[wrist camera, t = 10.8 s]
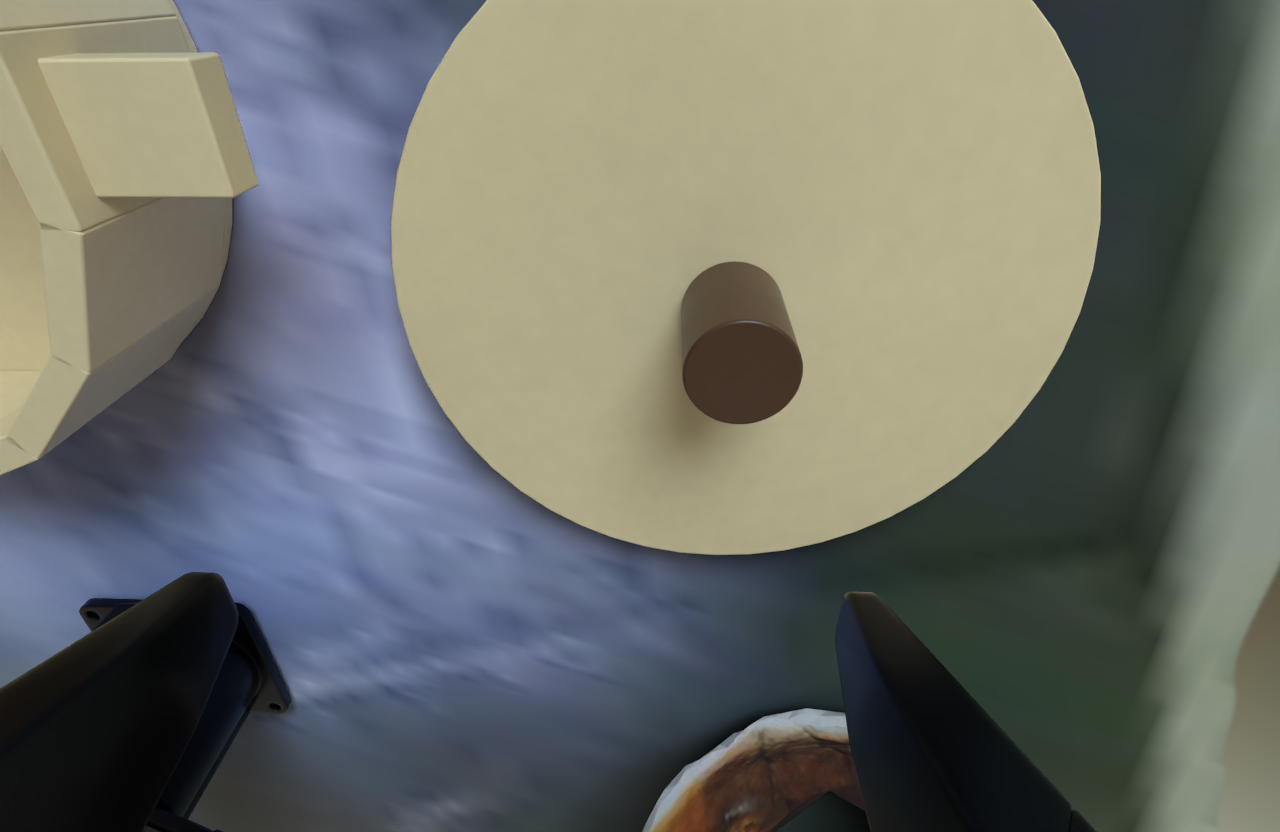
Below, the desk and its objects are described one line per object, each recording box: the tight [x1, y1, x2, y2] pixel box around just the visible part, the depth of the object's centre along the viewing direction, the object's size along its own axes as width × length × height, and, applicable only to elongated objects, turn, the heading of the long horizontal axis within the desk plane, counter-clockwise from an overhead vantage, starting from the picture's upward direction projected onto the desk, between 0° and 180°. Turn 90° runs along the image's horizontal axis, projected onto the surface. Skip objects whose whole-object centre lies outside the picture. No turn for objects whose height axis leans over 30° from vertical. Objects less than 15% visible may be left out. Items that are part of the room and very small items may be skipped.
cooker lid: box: [391, 0, 1101, 555], centre depth 17 cm, size 18×18×5 cm
